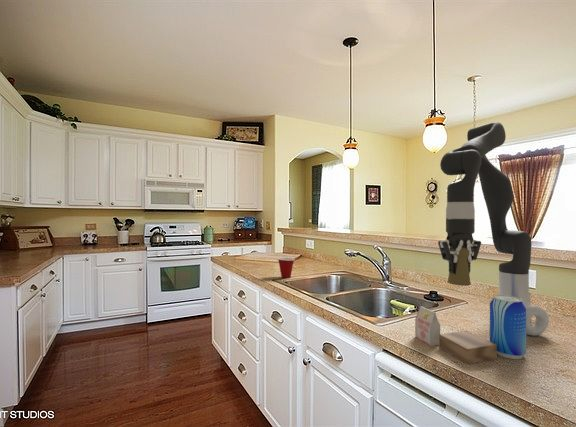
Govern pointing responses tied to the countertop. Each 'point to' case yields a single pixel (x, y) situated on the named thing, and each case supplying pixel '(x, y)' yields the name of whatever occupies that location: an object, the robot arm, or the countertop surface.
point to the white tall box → (427, 326)
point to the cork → (460, 269)
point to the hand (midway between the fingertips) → (459, 274)
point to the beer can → (508, 326)
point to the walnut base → (468, 347)
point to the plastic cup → (286, 266)
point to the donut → (540, 322)
